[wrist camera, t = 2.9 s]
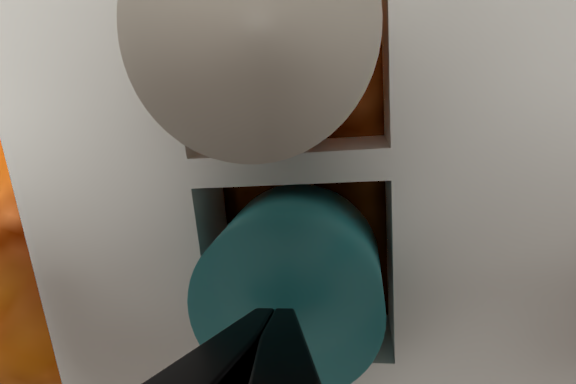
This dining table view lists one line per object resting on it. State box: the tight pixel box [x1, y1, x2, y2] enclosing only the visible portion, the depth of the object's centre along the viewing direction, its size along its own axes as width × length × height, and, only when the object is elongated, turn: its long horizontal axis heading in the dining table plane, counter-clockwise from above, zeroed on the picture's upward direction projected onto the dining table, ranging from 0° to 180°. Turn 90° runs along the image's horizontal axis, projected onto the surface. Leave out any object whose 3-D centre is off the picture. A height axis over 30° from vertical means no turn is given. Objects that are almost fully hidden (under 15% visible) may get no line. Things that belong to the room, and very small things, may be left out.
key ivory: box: [117, 0, 383, 164], centre depth 9 cm, size 5×5×3 cm
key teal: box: [187, 184, 386, 384], centre depth 11 cm, size 5×5×3 cm
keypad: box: [0, 0, 576, 384], centre depth 11 cm, size 16×20×2 cm
